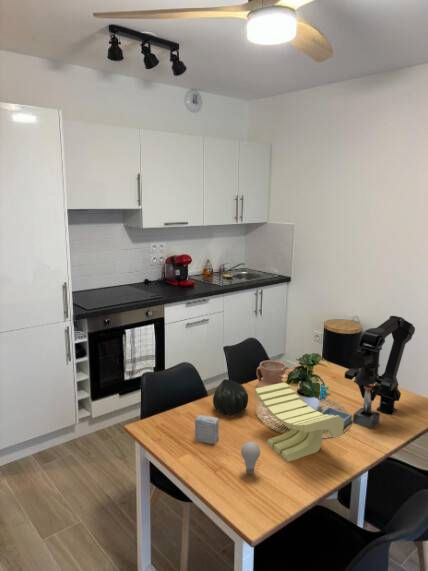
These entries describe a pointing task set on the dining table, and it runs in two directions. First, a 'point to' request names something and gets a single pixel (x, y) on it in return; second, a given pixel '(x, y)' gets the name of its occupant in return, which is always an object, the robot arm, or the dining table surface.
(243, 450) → the lightbulb
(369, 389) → the pin
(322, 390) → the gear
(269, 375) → the ceramic jug
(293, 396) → the slatted curved stool
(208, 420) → the medicine box
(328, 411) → the tray
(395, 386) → the robot arm
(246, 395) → the squash
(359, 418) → the hitch block
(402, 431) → the dining table surface
